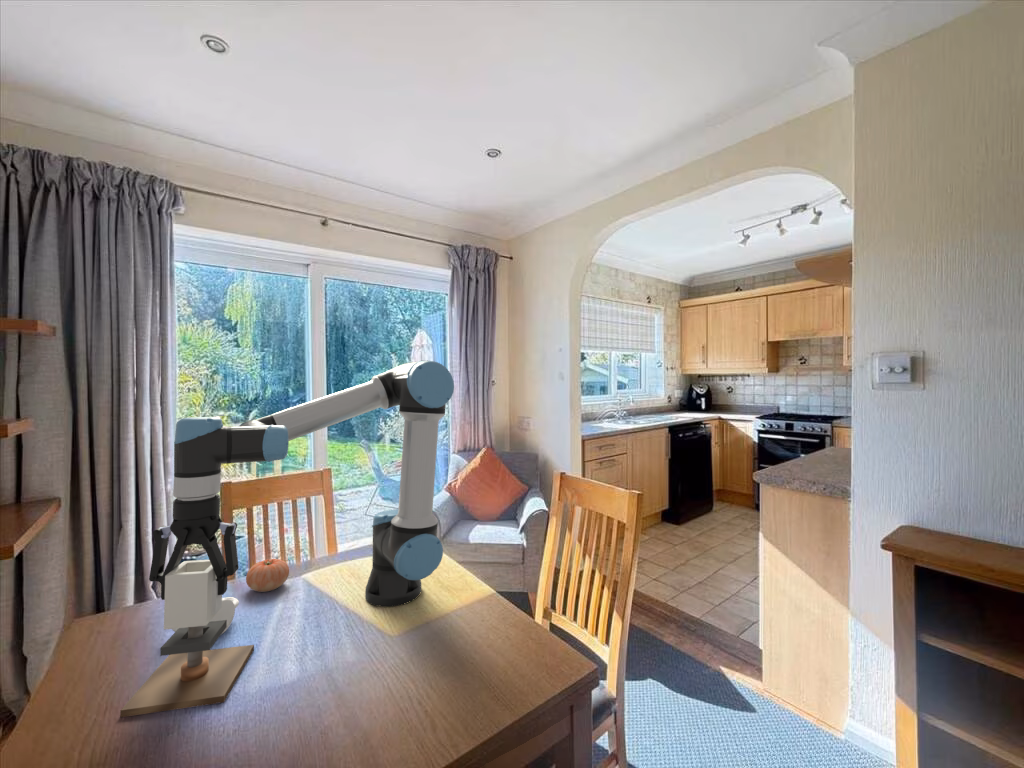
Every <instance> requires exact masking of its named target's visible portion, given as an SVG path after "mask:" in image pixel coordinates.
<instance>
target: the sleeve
mask: <svg viewBox="0 0 1024 768" xmlns="http://www.w3.org/2000/svg"><path fill="white" fill-rule="evenodd" d="M215 578H216V574H215V572H214V570H213V567H212V565H211V562H210V560H209V559H199V560H195V559H193V560H184V561H183V562H180V563H179V566H177V567H176V568H175V569H174V570H172V571H171V572H170V573H168V574H167V575H166V576H165V600H164V607H163V609H164V610H163V611H164V612H163V630H172V629H176V628H186V627H196V626H206V625H207V624H208V623H209V622H210V621H211V619H212V618H213V617H214V616H215V615H216V614H217V613H216V614H212V581H213V580H214V579H215ZM221 608H222V607H221Z"/></svg>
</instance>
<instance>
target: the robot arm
mask: <svg viewBox="0 0 1024 768" xmlns="http://www.w3.org/2000/svg"><path fill="white" fill-rule="evenodd" d="M454 382H455V381H454V378H453V376H452V373H451V372H450V371H449V369H448V368H447V367H446V366H444V365H443V364H442V363H440V362H438V361H433V360H419V361H413V362H412V361H411V362H405V363H403V364H400V365H398V366H396V367H393V368H391V369H389V370H387V371H385V372H382V373H379V374H377V375H373V376H372V377H371V380H370V381H367V382H365V383H361V384H358V385H355V386H352V387H349V388H346V389H344V390H340V391H337V392H334V393H330V394H328V395H325V396H323V397H319V398H316V399H313V400H311V401H308V402H304V403H301V404H298V405H295V406H291V407H289V408H286V409H283V410H280V411H277V412H275V413H272V414H270V415H266V416H263V417H259V418H257V419H249V420H247V421H246V420H245V421H244V422H242V423H241V424H239V425H238V426H227V425H226V426H224V423H223V419H222V418H221V417H217V416H194V417H193V416H192V417H191V416H190V417H184V418H181V419H179V420H178V421H176V424H175V434H174V441H173V444H174V445H173V446H174V447H173V450H174V452H173V490H172V491H173V492H172V496H173V497H174V500H173V502H172V522H171V524H170V525H167V526H166V525H161V526H160V527H158V528H156V529H154V531H153V532H152V535H153V539H154V546H153V552H152V558H151V559H152V560H151V563H150V570H149V577H148V580H149V582H158V583H160V585H161V587H160V599H161V600H162V601H165V576H166V575H167V574H168V573H170V572H171V571H172V570H174V569H175V568H176V567H177V566H179V565H180V564H181V561H182V559H183V556H184V555H185V552H186V550H187V547H188V546H190V545H201V547H202V549H203V550H205V552H206V555H207V557H208V560H210V562H211V565H212V567H213V570H214V572H215V574H216V578H215V579H214V580H213V581H212V614H216V613H217V612H218V611H219V610H220V609H221V607H222V598H223V596H224V594H225V593H226V592H227V590H228V577H231V576H233V575H234V574H235V573H236V572H237V571H238V570H239V559H238V558H239V557H238V551H237V550H238V548H237V540H236V531H237V528H238V523H237V522H235V521H233V522H231V523H229V522H223V521H222V519H221V517H220V514H221V495H219V493H220V492H221V481H222V478H221V477H222V476H221V474H222V468H221V467H222V465H223V464H224V465H229V464H239V463H258V462H259V463H261V462H268V463H271V462H272V461H281V460H282V461H283V460H284V459H286V458H287V456H288V453H289V441H293V440H295V439H297V438H300V437H303V436H307V435H309V434H311V433H314V432H317V431H320V430H322V429H325V428H328V427H330V426H334V425H337V424H338V423H342V422H343V421H344V422H345V421H347V420H349V419H352V418H355V417H358V416H360V415H363V414H366V413H369V412H371V411H374V410H378V409H379V408H381V409H384V410H388V409H390V408H393V407H398V406H399V407H398V408H399V409H398V412H399V415H400V416H402V417H403V419H404V424H403V437H402V438H403V439H402V455H401V465H400V466H401V469H400V483H399V492H398V493H399V495H398V496H399V497H398V508H397V509H388V510H384V511H380V512H377V513H376V514H375V515H374V516H373V519H372V525H371V527H372V567H371V571H370V575H369V577H368V580H367V583H366V587H365V590H364V591H365V593H364V594H365V596H364V597H365V600H366V601H367V602H368V603H369V604H370V605H373V606H377V607H384V608H385V607H386V608H387V607H397V606H401V604H403V605H405V604H404V603H406V604H408V603H407V602H409V601H411V602H412V600H413V599H415V598H416V597H417V596H418V595H419V594H420V592H421V593H422V581H421V580H422V579H426V578H427V577H429V576H431V575H432V574H433V572H434V571H435V570H437V569H438V568H439V566H440V564H441V562H442V559H443V555H444V548H443V544H442V542H441V539H439V537H438V527H439V525H438V523H439V520H438V518H437V517H436V516H435V515H434V514H433V508H434V493H435V480H436V479H435V478H436V467H437V466H436V463H437V449H438V436H439V435H438V433H439V421H440V420H441V419H442V418H444V416H445V415H446V407H447V406H446V404H448V402H449V401H450V400H451V398H452V396H453V394H454V391H455V389H454V388H455V383H454ZM219 530H220V531H221V535H223V549H224V557H225V559H224V557H223V554H222V551H221V549H220V547H219V544H218V538H217V535H216V533H217V532H218V531H219ZM171 534H173V535H174V536H175V538H177V540H176V541H175V544H174V547H173V550H172V553H171V555H170V558H169V560H168V562H167V564H166V560H167V552H168V549H169V548H168V547H169V541H170V540H169V539H170V537H171ZM165 565H166V566H165ZM420 595H421V594H420ZM420 595H419V596H420ZM419 596H418V597H419ZM418 597H417V598H418ZM417 598H416V599H417ZM416 599H415V600H416ZM413 601H414V600H413ZM409 603H410V602H409Z"/></svg>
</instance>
